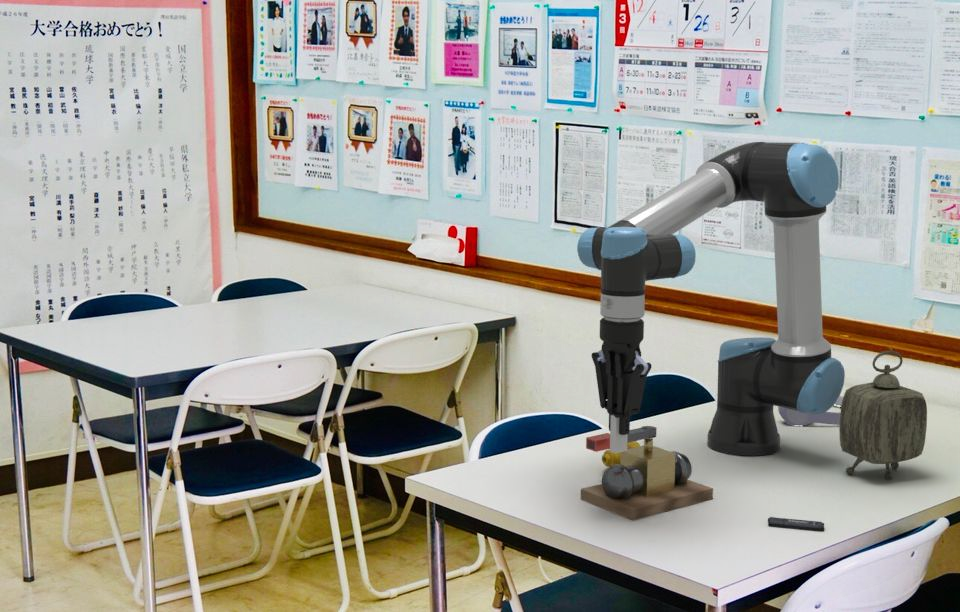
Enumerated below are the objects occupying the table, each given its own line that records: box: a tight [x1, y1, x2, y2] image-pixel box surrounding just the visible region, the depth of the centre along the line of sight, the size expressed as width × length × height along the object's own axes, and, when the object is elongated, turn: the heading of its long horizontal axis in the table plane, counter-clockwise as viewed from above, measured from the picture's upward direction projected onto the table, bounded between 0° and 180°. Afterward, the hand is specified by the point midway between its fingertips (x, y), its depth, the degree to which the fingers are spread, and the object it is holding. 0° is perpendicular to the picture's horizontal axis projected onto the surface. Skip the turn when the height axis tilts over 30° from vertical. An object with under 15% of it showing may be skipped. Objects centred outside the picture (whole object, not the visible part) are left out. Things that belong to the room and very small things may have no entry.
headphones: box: [777, 395, 843, 426], centre depth 285 cm, size 22×7×20 cm
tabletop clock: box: [838, 350, 928, 481], centre depth 238 cm, size 14×9×25 cm, turn 111°
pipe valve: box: [601, 438, 693, 499], centre depth 224 cm, size 18×7×10 cm, turn 127°
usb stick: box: [767, 516, 825, 532], centre depth 211 cm, size 10×3×2 cm, turn 74°
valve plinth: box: [580, 479, 714, 521], centre depth 225 cm, size 20×14×2 cm
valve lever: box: [585, 425, 657, 453], centre depth 220 cm, size 15×3×2 cm, turn 127°
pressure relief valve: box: [601, 441, 641, 468], centre depth 241 cm, size 6×12×10 cm
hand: (618, 450), depth 214 cm, fingers closed
